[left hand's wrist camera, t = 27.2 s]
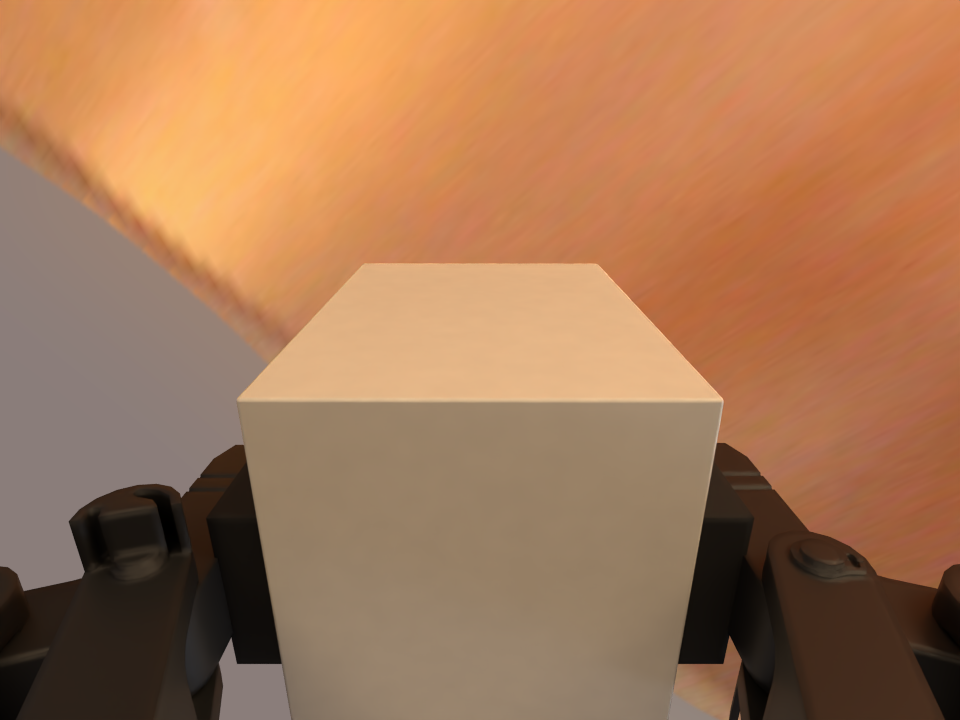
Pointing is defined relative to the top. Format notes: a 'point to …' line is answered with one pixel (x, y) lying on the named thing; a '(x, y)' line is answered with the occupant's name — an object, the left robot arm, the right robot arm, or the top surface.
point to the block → (479, 497)
